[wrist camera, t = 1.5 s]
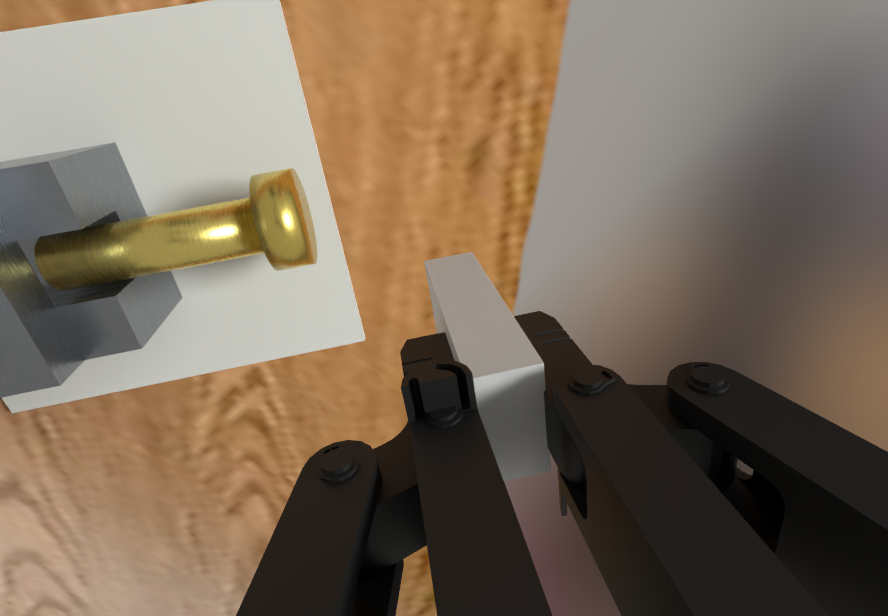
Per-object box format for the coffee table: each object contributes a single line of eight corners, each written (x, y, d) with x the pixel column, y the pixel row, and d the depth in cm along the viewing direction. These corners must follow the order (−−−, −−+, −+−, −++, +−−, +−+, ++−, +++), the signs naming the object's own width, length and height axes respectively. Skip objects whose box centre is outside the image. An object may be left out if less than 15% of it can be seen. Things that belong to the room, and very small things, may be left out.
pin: (296, 160, 28) (283, 178, 23) (320, 246, 30) (313, 278, 25) (59, 202, 27) (-4, 229, 22) (102, 288, 29) (54, 328, 24)
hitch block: (115, 142, 28) (-6, 176, 19) (182, 297, 32) (112, 386, 23) (-13, 163, 27) (-202, 209, 18) (73, 318, 32) (-43, 418, 23)
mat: (-215, 66, 25) (-228, 66, 24) (277, -8, 27) (276, -9, 26) (17, 408, 35) (12, 413, 34) (365, 336, 37) (365, 340, 36)
